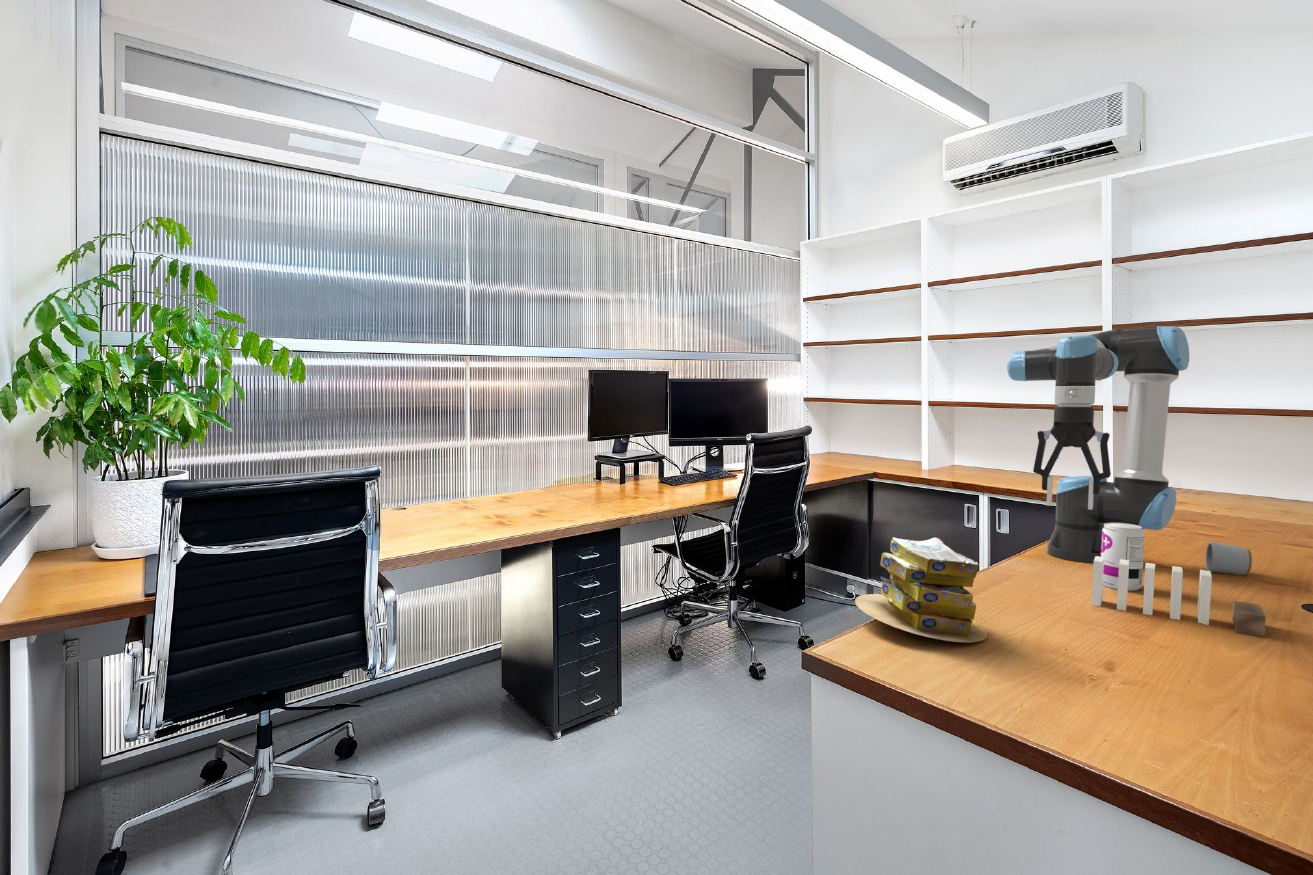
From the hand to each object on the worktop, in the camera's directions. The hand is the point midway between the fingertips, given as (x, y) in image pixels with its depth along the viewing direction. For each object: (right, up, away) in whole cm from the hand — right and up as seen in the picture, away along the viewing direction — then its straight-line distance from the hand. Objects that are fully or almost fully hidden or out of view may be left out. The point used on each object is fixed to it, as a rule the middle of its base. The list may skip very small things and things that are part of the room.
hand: (1069, 506), depth 144 cm
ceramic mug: (+56, -20, +23) cm, 63 cm away
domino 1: (+5, -21, -2) cm, 22 cm away
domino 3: (+12, -22, -8) cm, 26 cm away
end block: (+24, -22, -18) cm, 37 cm away
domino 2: (+8, -22, -5) cm, 24 cm away
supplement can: (+19, -21, +10) cm, 29 cm away
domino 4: (+15, -22, -11) cm, 29 cm away
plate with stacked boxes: (-41, -23, -16) cm, 49 cm away
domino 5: (+19, -22, -13) cm, 32 cm away
